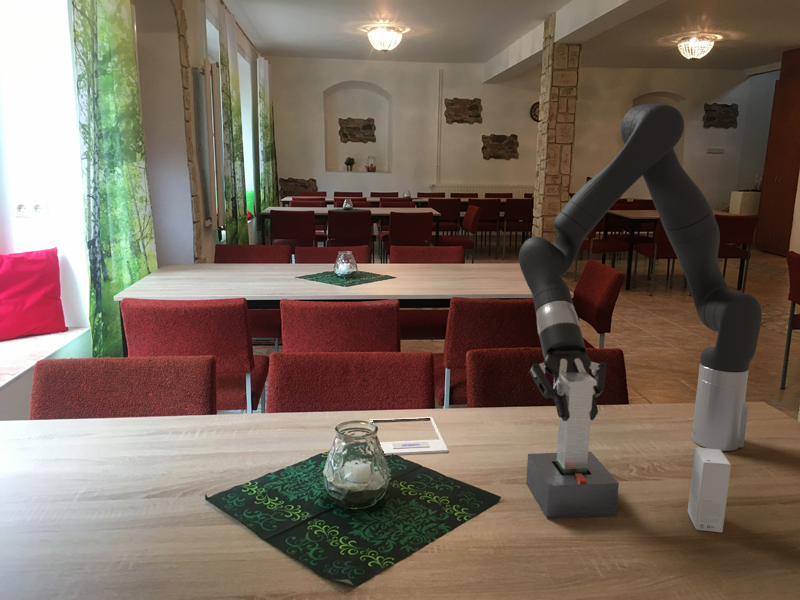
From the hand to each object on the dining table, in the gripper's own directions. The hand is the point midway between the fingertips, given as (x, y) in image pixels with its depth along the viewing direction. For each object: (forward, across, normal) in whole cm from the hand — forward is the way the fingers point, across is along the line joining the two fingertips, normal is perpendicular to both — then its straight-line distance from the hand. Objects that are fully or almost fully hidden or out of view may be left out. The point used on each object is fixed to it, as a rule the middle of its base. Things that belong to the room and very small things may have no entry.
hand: (579, 418), depth 108 cm
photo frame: (-10, -26, +34) cm, 44 cm away
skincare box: (+17, +20, +6) cm, 27 cm away
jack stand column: (+6, 0, +9) cm, 11 cm away
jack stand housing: (+10, 0, +13) cm, 16 cm away
